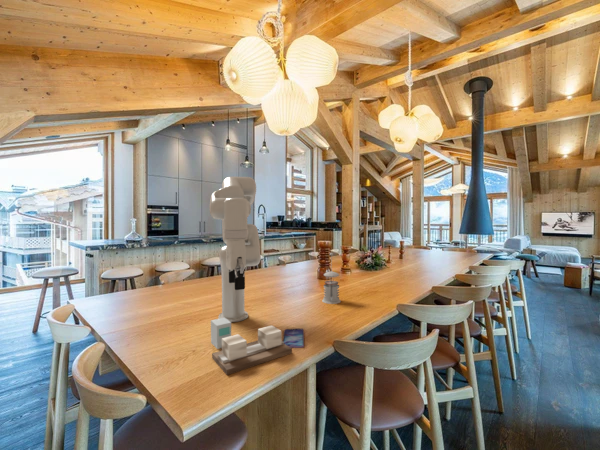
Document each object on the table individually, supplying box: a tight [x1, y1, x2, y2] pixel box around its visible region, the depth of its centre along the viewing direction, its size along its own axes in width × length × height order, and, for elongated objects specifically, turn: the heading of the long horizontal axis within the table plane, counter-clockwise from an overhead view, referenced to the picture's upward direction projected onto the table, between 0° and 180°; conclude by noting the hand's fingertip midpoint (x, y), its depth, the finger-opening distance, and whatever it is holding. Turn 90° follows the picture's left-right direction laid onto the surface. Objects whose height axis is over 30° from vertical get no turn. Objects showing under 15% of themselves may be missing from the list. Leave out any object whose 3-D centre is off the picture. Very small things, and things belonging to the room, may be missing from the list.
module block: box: [210, 317, 232, 350], centre depth 102 cm, size 6×5×8 cm
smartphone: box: [282, 328, 305, 349], centre depth 107 cm, size 7×1×15 cm
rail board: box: [211, 324, 293, 376], centre depth 94 cm, size 12×22×7 cm, turn 126°
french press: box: [321, 252, 341, 305], centre depth 151 cm, size 10×12×25 cm
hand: (236, 285), depth 99 cm, fingers open, 9 cm apart
